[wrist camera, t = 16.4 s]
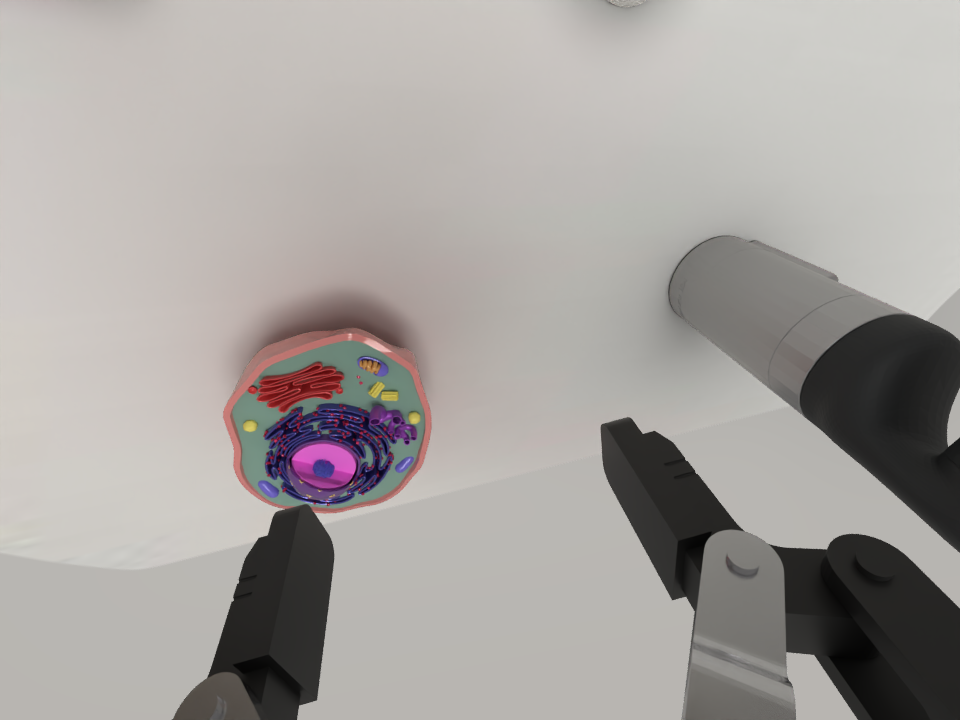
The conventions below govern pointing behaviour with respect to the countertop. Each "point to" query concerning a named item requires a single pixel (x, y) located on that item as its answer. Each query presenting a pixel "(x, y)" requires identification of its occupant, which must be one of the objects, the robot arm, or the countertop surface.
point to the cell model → (328, 421)
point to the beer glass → (626, 2)
